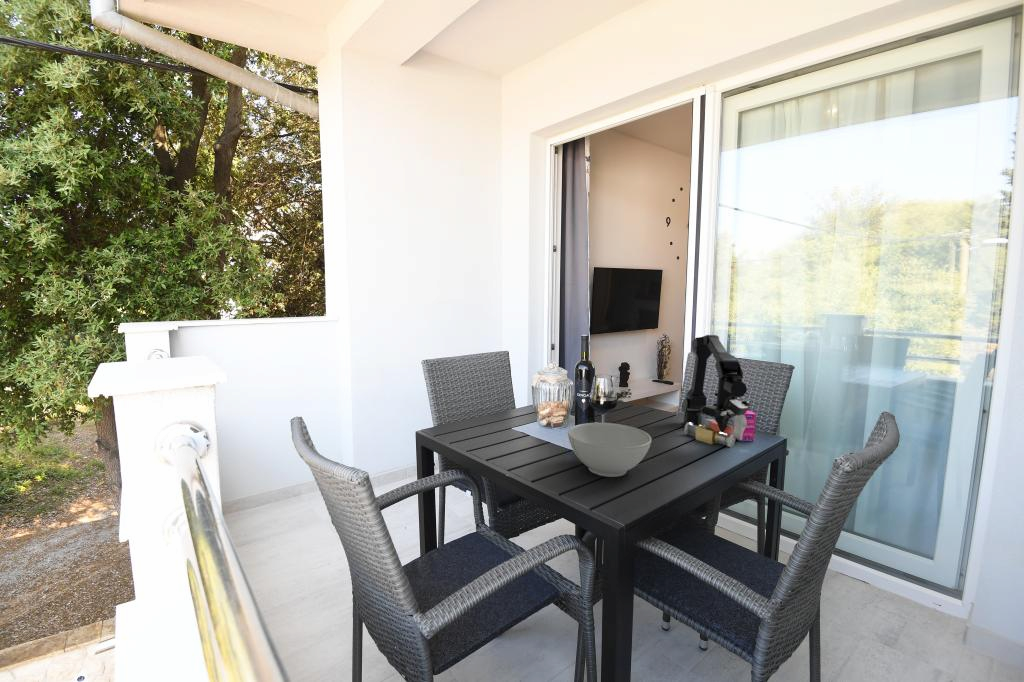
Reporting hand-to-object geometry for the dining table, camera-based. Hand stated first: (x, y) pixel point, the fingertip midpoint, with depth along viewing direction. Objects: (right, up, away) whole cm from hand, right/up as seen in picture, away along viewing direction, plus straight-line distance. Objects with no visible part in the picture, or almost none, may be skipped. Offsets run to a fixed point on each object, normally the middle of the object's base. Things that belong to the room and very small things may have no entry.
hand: (722, 431), depth 185 cm
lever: (+1, 0, +5) cm, 5 cm away
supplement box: (+14, -6, +12) cm, 20 cm away
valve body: (-1, -5, +10) cm, 11 cm away
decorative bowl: (-48, -8, -24) cm, 55 cm away
